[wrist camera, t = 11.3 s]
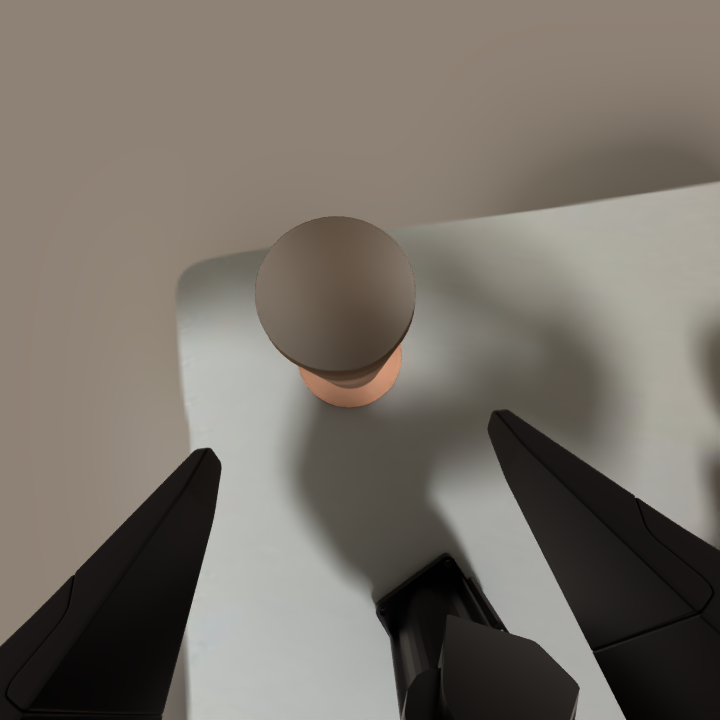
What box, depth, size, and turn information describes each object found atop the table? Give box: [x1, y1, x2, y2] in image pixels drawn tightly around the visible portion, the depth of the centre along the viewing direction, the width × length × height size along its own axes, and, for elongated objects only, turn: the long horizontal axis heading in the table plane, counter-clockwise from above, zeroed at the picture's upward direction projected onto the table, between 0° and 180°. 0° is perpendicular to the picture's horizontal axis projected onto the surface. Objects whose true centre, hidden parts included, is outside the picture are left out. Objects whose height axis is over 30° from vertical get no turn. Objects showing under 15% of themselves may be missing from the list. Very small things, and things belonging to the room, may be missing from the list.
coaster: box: [299, 344, 402, 407], centre depth 22 cm, size 8×8×1 cm
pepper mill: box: [255, 217, 416, 389], centre depth 15 cm, size 5×5×13 cm
